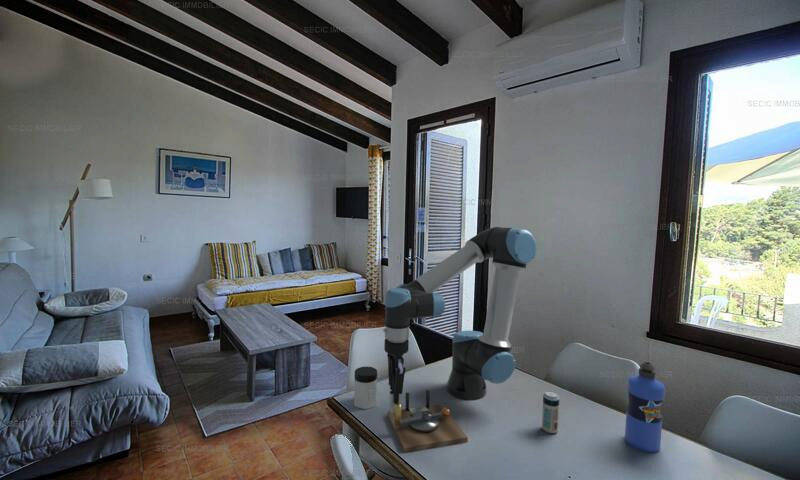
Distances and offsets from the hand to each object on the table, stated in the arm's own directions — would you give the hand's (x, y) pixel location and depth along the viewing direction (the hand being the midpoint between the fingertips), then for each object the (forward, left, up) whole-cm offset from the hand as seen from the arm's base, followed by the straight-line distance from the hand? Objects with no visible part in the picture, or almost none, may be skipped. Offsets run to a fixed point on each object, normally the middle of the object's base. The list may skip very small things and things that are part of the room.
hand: (394, 411), depth 117 cm
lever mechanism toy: (-10, +2, -6) cm, 12 cm away
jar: (+6, -18, -6) cm, 20 cm away
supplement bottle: (-48, +13, -6) cm, 50 cm away
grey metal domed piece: (-9, +2, -4) cm, 10 cm away
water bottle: (-71, +26, -6) cm, 76 cm away
